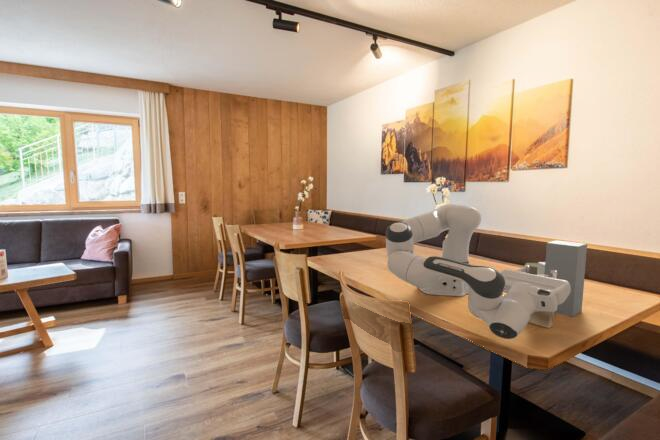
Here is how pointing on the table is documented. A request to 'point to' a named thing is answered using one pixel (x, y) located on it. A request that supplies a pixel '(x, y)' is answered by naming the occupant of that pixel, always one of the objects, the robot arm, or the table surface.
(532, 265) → the olive green block
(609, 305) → the table surface
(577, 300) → the pedestal
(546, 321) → the mallet
